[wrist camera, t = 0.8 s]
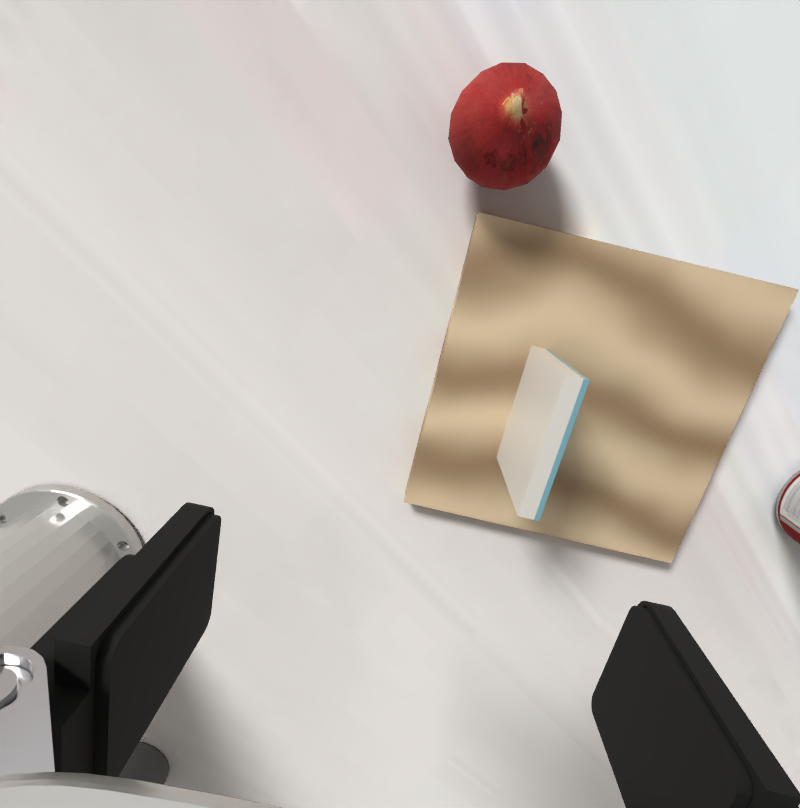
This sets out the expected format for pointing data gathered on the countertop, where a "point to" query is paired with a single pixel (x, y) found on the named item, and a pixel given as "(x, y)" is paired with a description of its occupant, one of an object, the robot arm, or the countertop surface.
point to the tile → (539, 429)
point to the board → (594, 382)
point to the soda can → (790, 507)
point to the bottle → (146, 765)
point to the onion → (505, 126)
